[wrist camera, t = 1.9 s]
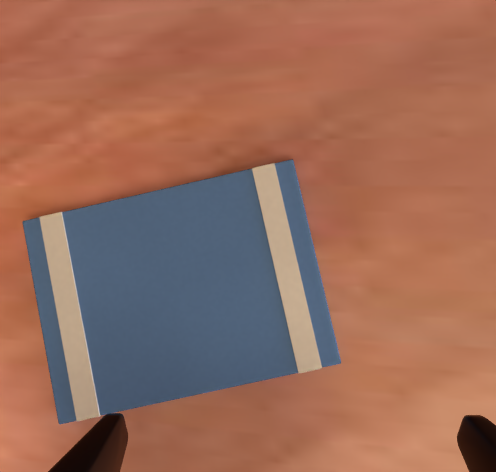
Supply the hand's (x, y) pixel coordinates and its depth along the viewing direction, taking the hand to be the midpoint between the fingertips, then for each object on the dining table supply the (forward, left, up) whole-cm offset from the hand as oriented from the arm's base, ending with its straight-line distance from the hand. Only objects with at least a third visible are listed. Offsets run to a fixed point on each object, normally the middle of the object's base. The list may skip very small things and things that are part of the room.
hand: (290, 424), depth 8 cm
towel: (-6, +4, -16) cm, 17 cm away
